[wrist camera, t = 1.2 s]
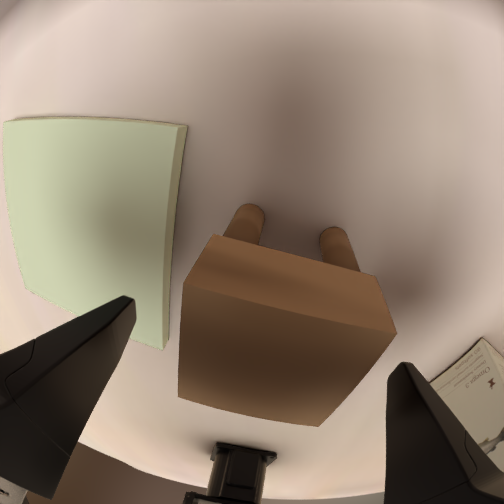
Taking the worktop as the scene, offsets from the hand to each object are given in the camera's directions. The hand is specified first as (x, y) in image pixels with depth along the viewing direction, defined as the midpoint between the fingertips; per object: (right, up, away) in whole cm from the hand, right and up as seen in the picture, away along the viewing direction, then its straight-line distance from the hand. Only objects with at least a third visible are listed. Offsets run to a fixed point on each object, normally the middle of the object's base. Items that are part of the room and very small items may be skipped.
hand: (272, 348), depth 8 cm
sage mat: (-10, +4, +5) cm, 12 cm away
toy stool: (+1, +2, +4) cm, 5 cm away
